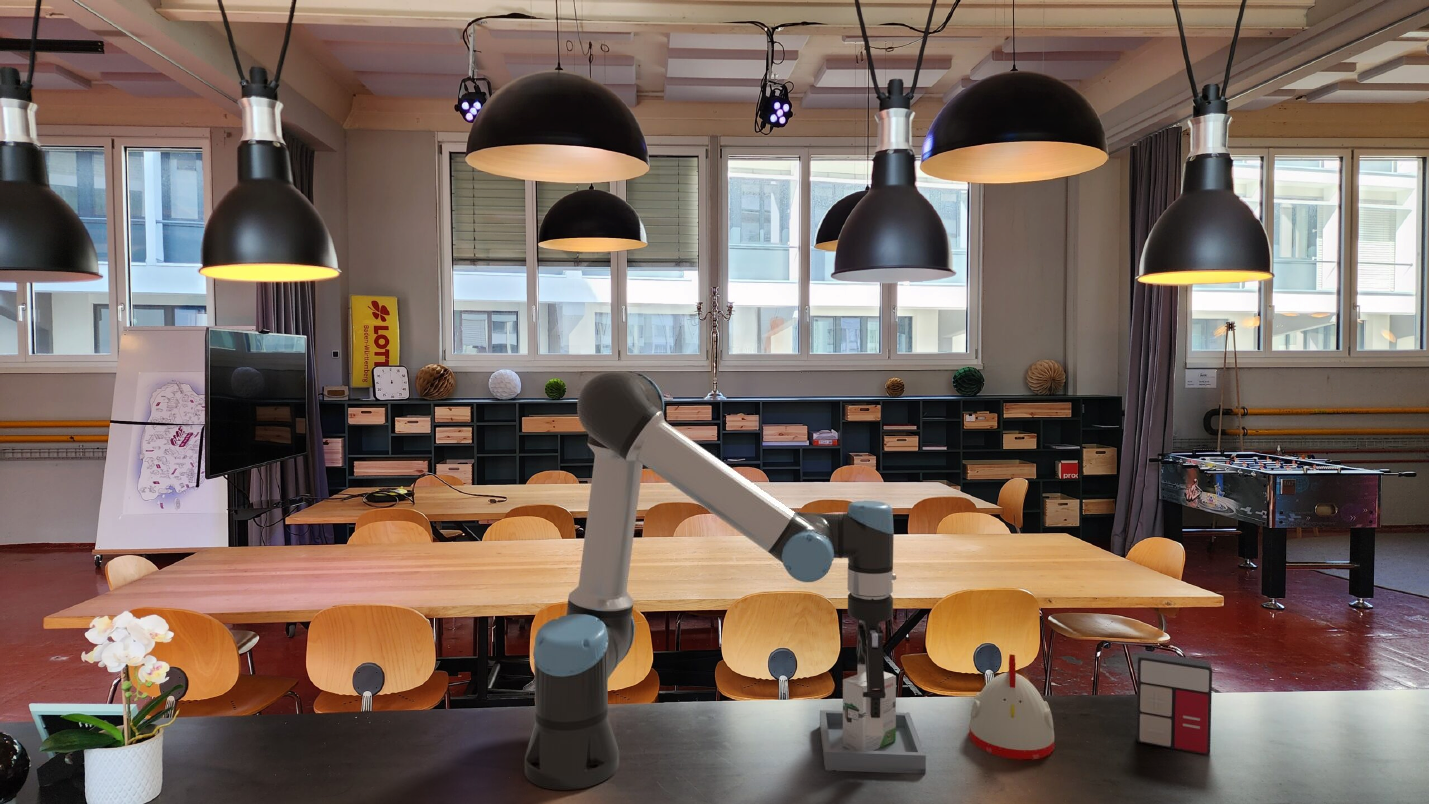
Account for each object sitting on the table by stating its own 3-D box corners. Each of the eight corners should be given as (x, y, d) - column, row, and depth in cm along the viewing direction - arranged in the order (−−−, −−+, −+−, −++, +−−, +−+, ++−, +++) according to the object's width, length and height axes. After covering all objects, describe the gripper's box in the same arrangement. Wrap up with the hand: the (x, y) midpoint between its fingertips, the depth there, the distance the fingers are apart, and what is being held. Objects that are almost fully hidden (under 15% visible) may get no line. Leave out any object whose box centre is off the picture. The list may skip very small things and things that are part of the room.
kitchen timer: (968, 752, 137) (969, 665, 136) (970, 718, 150) (971, 639, 149) (1057, 765, 132) (1058, 674, 132) (1051, 729, 145) (1052, 647, 145)
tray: (824, 769, 131) (824, 751, 130) (819, 726, 146) (819, 710, 146) (925, 773, 129) (925, 755, 129) (909, 729, 145) (909, 712, 145)
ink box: (875, 731, 142) (875, 665, 142) (897, 742, 138) (897, 674, 138) (840, 745, 137) (841, 677, 137) (862, 756, 133) (863, 686, 133)
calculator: (1136, 743, 139) (1137, 658, 139) (1136, 733, 143) (1137, 650, 143) (1210, 757, 134) (1212, 669, 134) (1208, 747, 138) (1210, 660, 137)
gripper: (904, 616, 124) (903, 751, 125) (883, 574, 149) (882, 688, 150) (854, 615, 125) (854, 750, 126) (842, 574, 149) (841, 687, 150)
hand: (869, 716), depth 138 cm, fingers open, 13 cm apart
